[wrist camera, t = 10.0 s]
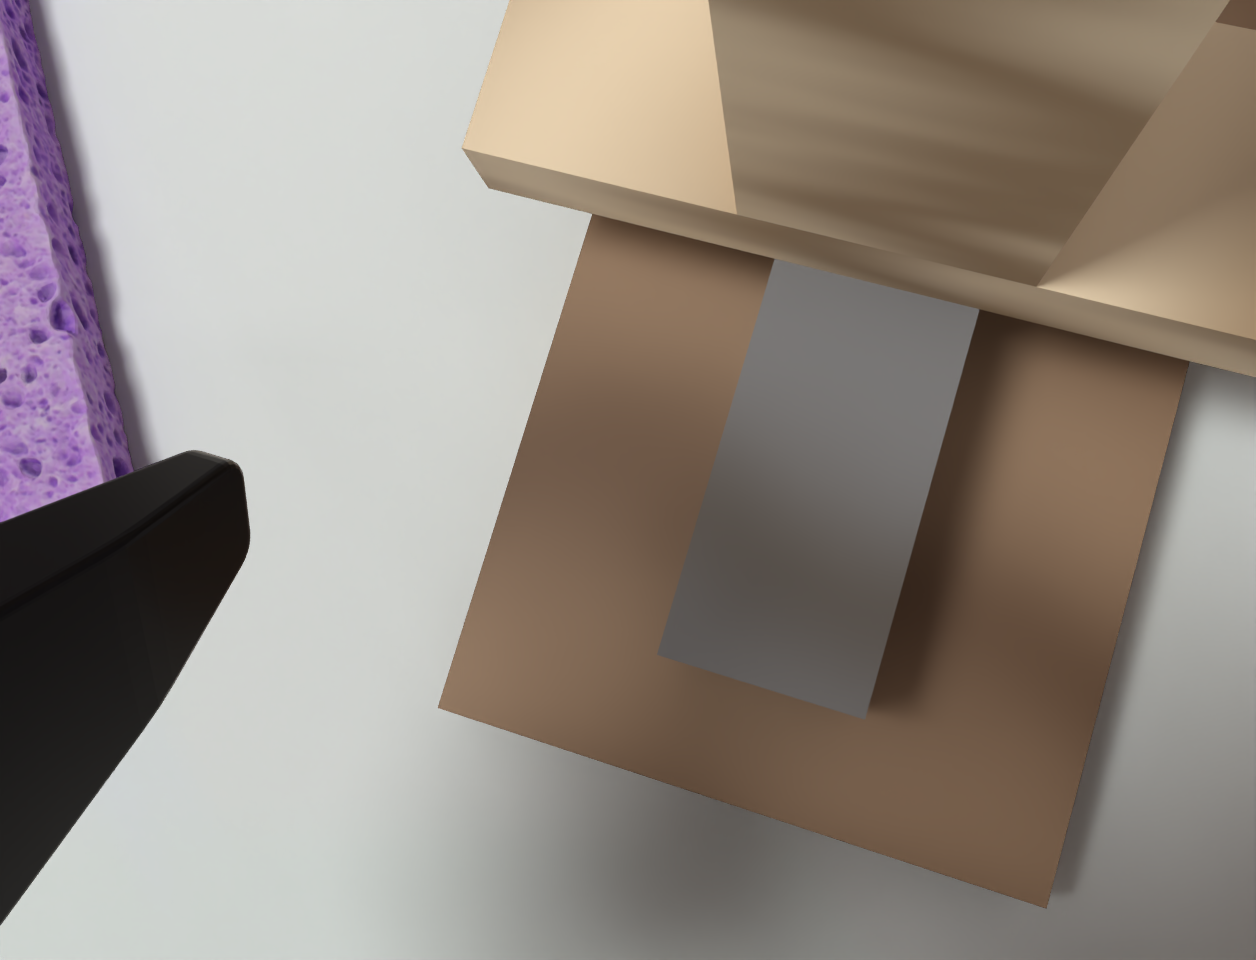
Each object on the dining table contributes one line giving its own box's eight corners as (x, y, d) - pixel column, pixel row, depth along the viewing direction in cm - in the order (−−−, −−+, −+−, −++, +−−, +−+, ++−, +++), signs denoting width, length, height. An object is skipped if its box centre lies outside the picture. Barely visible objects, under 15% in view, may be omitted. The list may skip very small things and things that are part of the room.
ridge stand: (1027, 888, 20) (1085, 949, 16) (462, 703, 21) (387, 716, 17) (1317, -213, 21) (1434, -405, 17) (775, -303, 23) (771, -497, 19)
